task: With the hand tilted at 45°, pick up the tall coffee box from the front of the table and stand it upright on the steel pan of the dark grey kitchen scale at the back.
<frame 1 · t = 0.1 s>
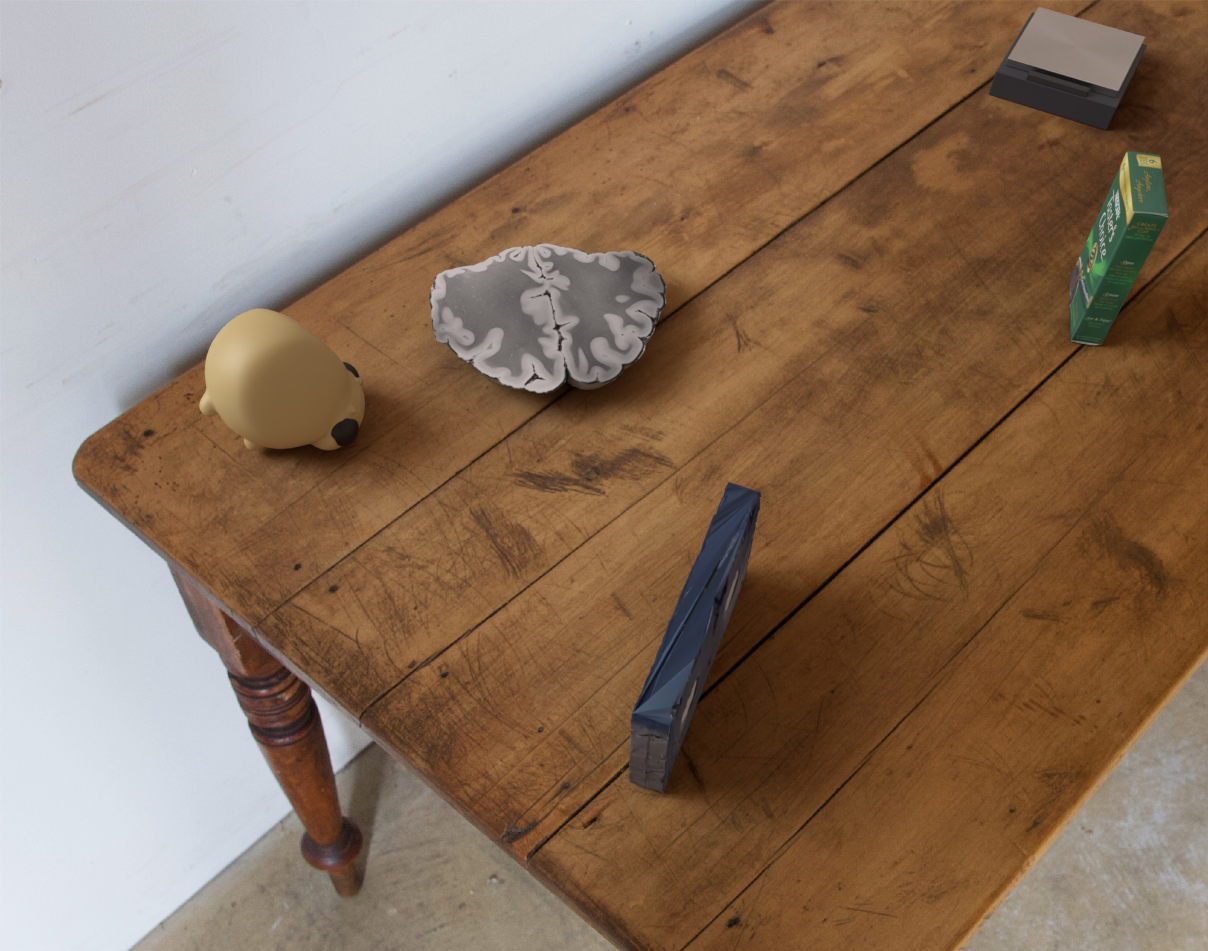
scale: (1063, 81, 113), on the table
brain slice: (554, 341, 93), on the table
coffee box: (1082, 313, 95), on the table
vhs cassette tape: (689, 675, 76), on the table
toy pig: (297, 427, 88), on the table
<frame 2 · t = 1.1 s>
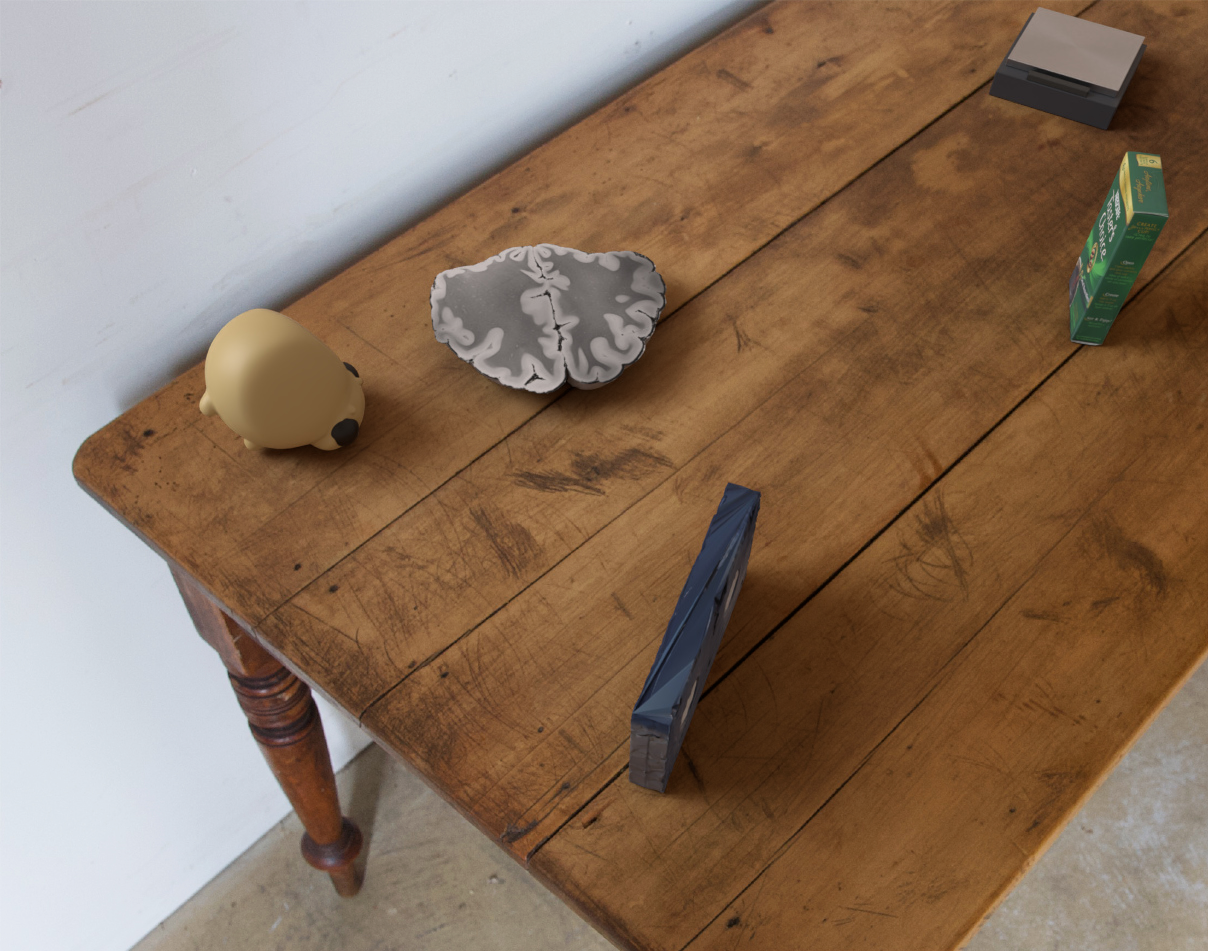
nothing on the table moved.
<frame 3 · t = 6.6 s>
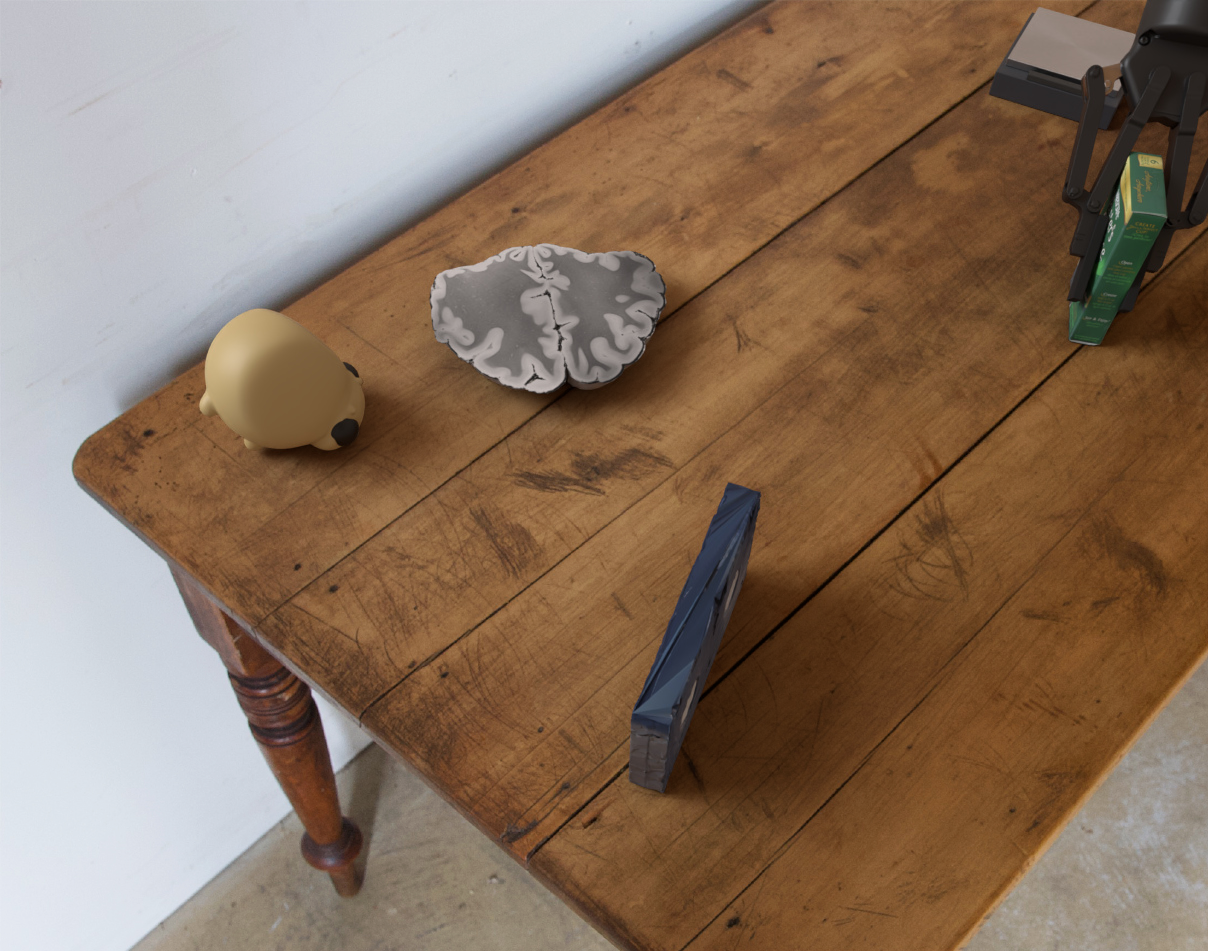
hand: (1098, 305, 90), 4 cm above the table, tool tilted 45°, fingers closed on coffee box, 3 cm apart
coffee box: (1082, 313, 95), on the table, touching gripper
everything else where it was.
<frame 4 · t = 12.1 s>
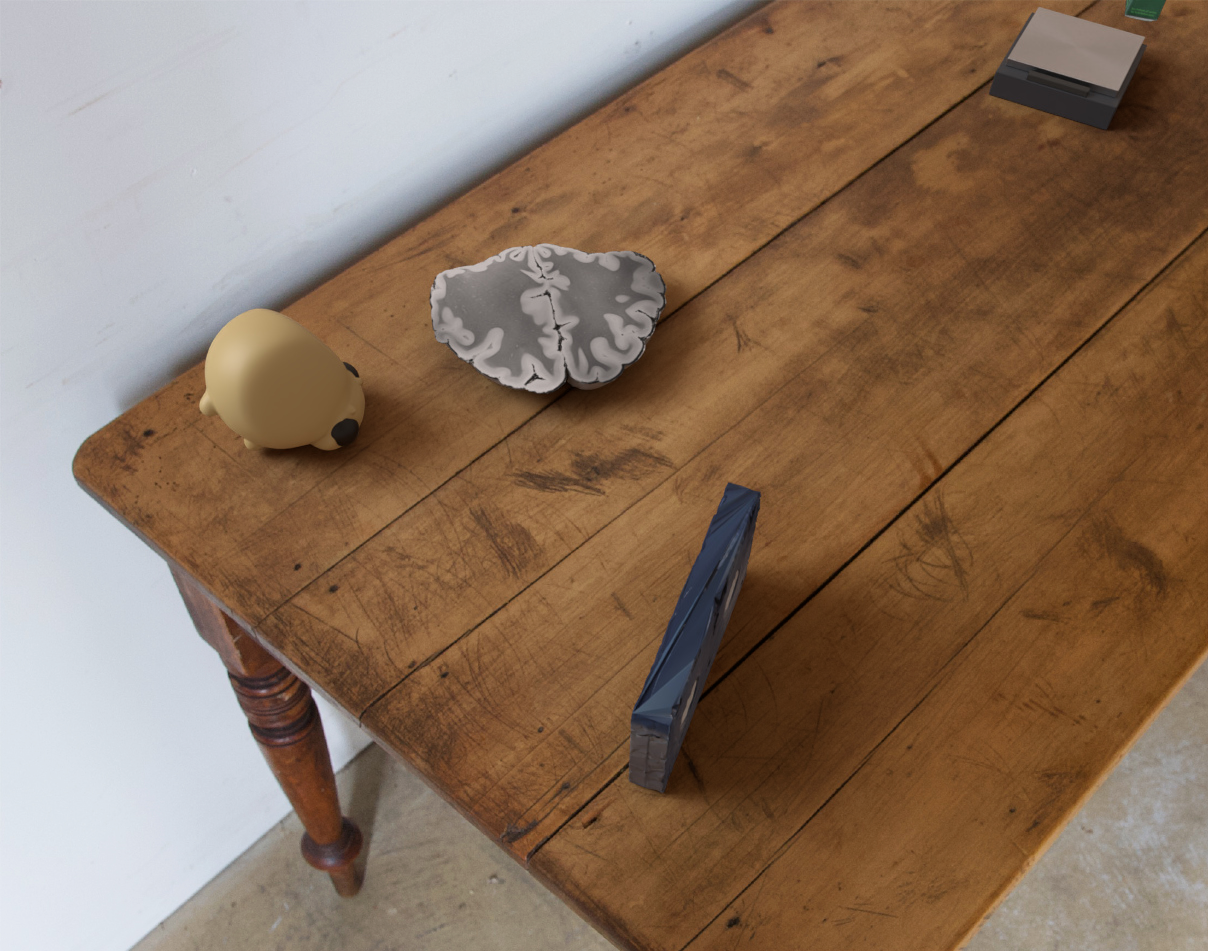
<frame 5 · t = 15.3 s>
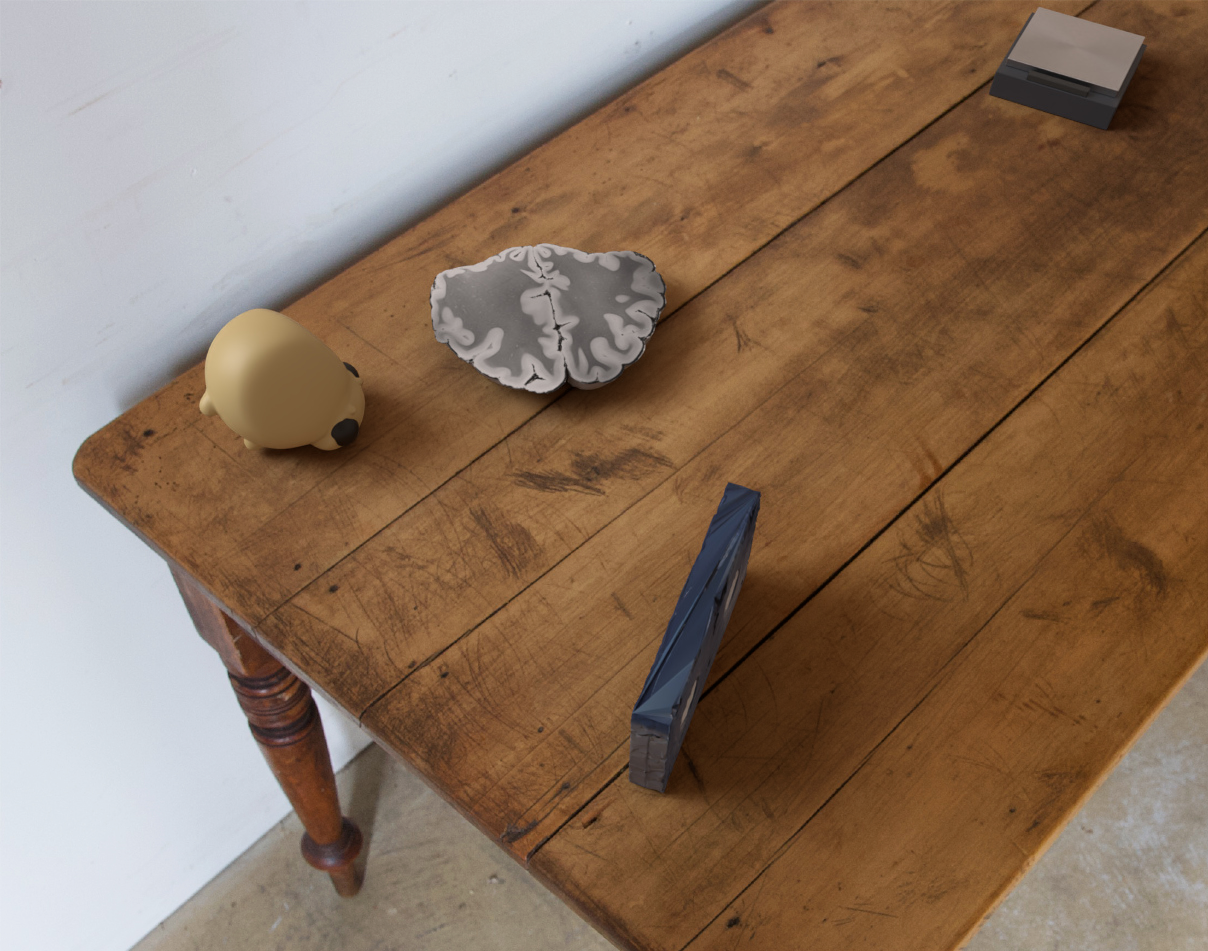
when the fingers open (8 cm above the table, at t = 17.4 s): coffee box stays where it is, resting on scale.
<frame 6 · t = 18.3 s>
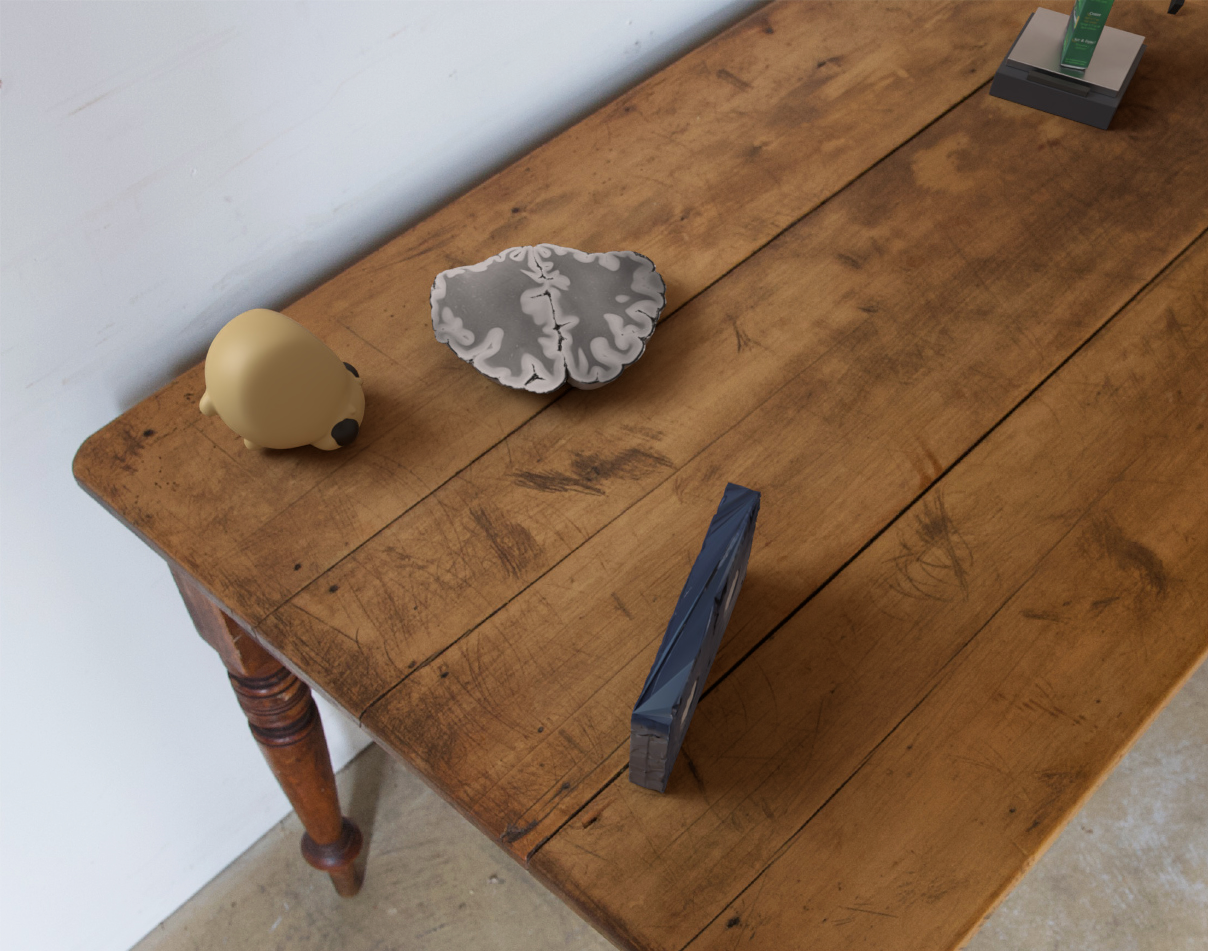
coffee box: (1075, 48, 111), point 3 cm above the table, touching scale
everything else where it was.
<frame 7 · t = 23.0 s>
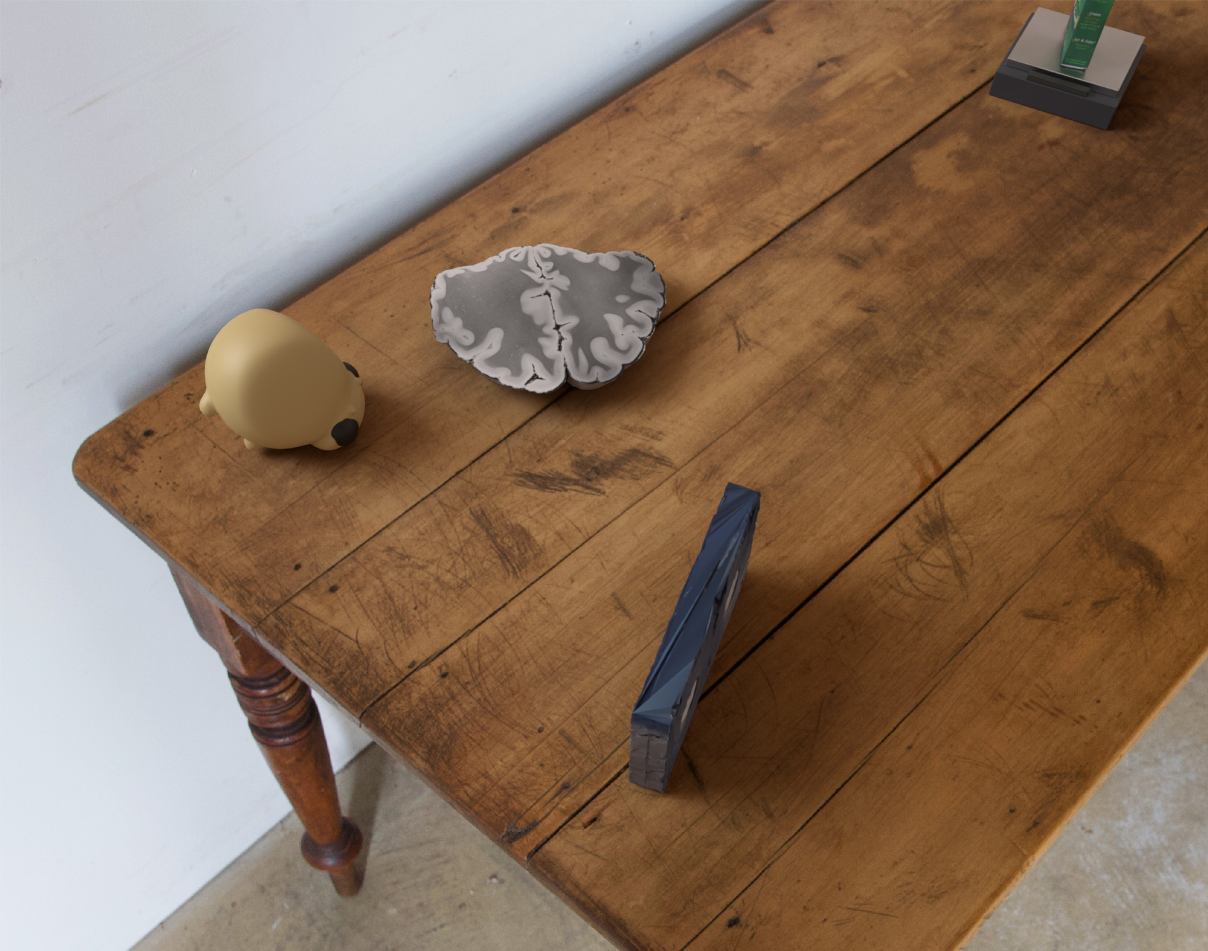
nothing on the table moved.
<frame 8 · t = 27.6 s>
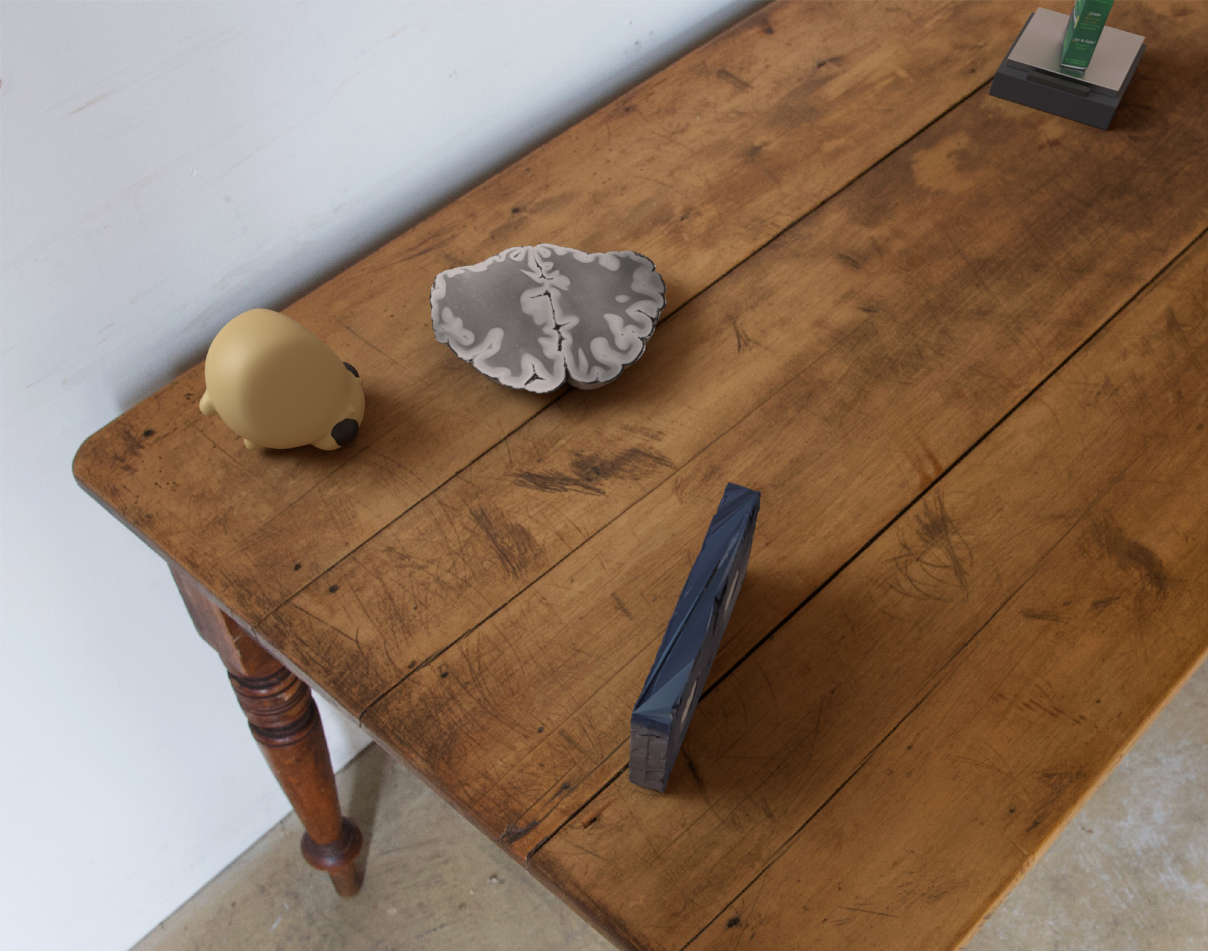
nothing on the table moved.
at the end: coffee box inside the target area on the scale (0.3 cm from its centre), point 3.1 cm above the scale's base; coffee box tilted 0°; the gripper is holding nothing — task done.
